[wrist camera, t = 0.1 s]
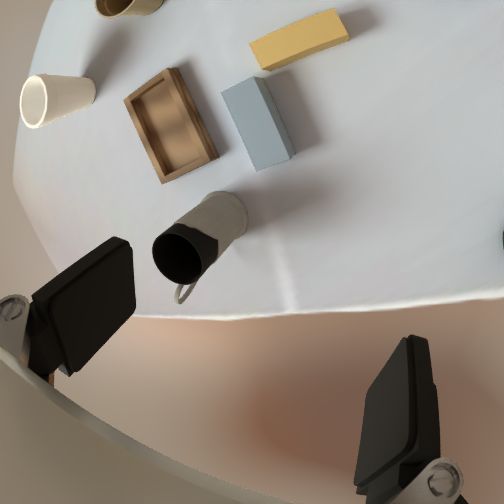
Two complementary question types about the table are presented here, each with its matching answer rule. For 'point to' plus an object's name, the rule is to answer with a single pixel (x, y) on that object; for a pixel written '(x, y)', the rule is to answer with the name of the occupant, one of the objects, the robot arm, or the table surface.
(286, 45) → the mustard wooden brick
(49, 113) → the foam cup
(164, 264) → the glass holder
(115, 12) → the flower pot
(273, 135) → the pale grey-blue block
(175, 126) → the cradle
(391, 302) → the table surface
